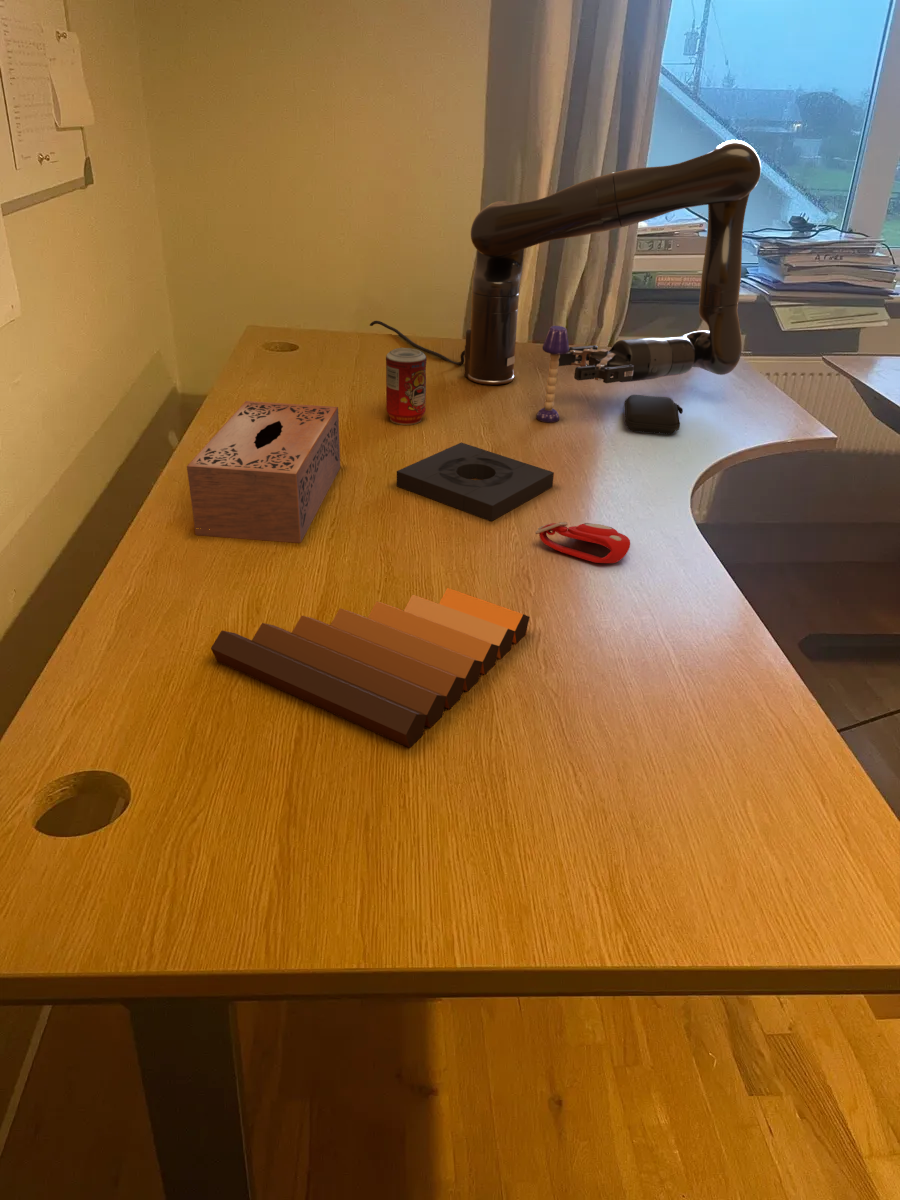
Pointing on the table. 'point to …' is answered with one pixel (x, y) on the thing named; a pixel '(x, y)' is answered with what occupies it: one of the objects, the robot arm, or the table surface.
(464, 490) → the socket pad
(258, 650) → the brown ridged flat slab
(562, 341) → the toy lamp
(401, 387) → the soda can
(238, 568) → the table surface
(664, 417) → the carrying case
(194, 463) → the tissue box cover
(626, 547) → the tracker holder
